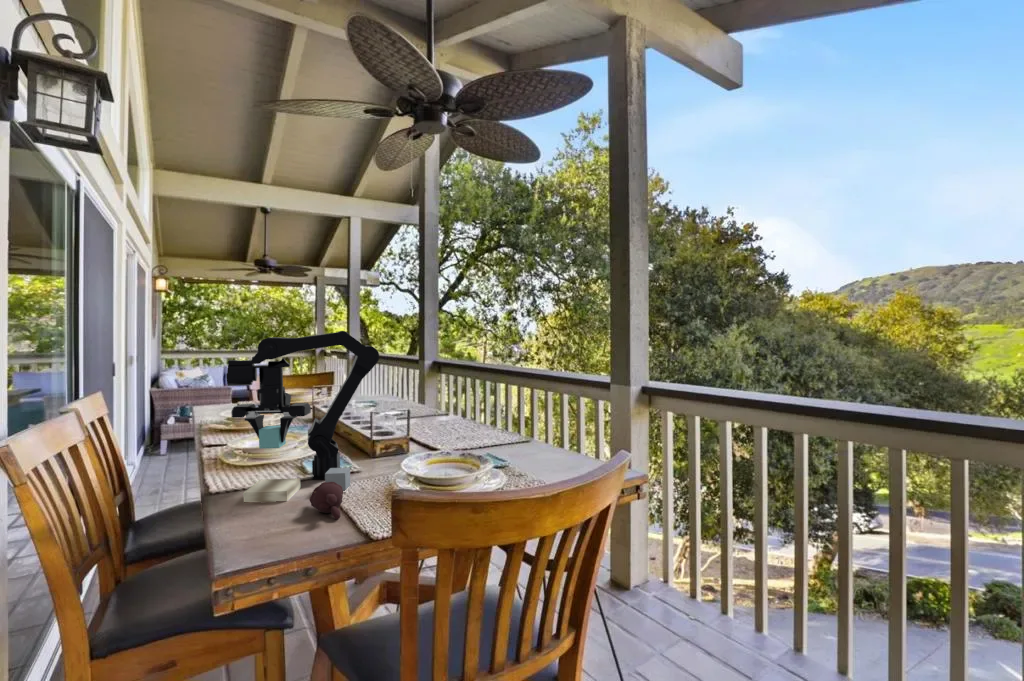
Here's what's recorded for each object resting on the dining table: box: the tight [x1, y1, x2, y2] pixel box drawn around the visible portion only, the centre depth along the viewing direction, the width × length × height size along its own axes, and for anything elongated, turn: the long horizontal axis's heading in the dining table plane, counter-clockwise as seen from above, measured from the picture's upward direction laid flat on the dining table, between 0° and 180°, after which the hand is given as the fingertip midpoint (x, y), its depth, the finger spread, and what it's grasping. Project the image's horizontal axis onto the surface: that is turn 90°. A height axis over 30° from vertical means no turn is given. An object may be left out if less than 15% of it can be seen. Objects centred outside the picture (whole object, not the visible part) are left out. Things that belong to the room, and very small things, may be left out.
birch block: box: [243, 477, 301, 503], centre depth 129 cm, size 10×10×3 cm
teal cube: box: [258, 425, 287, 449], centre depth 139 cm, size 5×5×5 cm
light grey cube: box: [324, 467, 351, 491], centre depth 133 cm, size 5×5×5 cm
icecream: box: [308, 481, 344, 521], centre depth 118 cm, size 7×7×15 cm
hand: (272, 442), depth 139 cm, fingers closed on teal cube, 5 cm apart
